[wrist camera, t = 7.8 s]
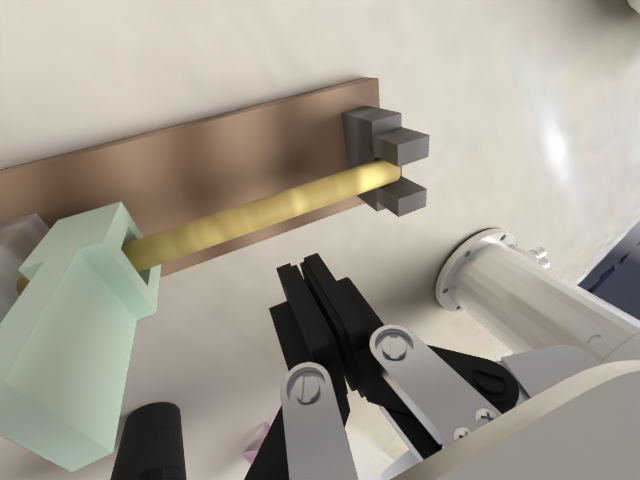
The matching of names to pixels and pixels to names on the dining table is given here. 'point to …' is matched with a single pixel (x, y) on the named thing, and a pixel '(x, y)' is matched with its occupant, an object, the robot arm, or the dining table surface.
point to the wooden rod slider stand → (219, 180)
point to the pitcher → (634, 5)
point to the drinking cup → (151, 445)
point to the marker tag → (73, 338)
